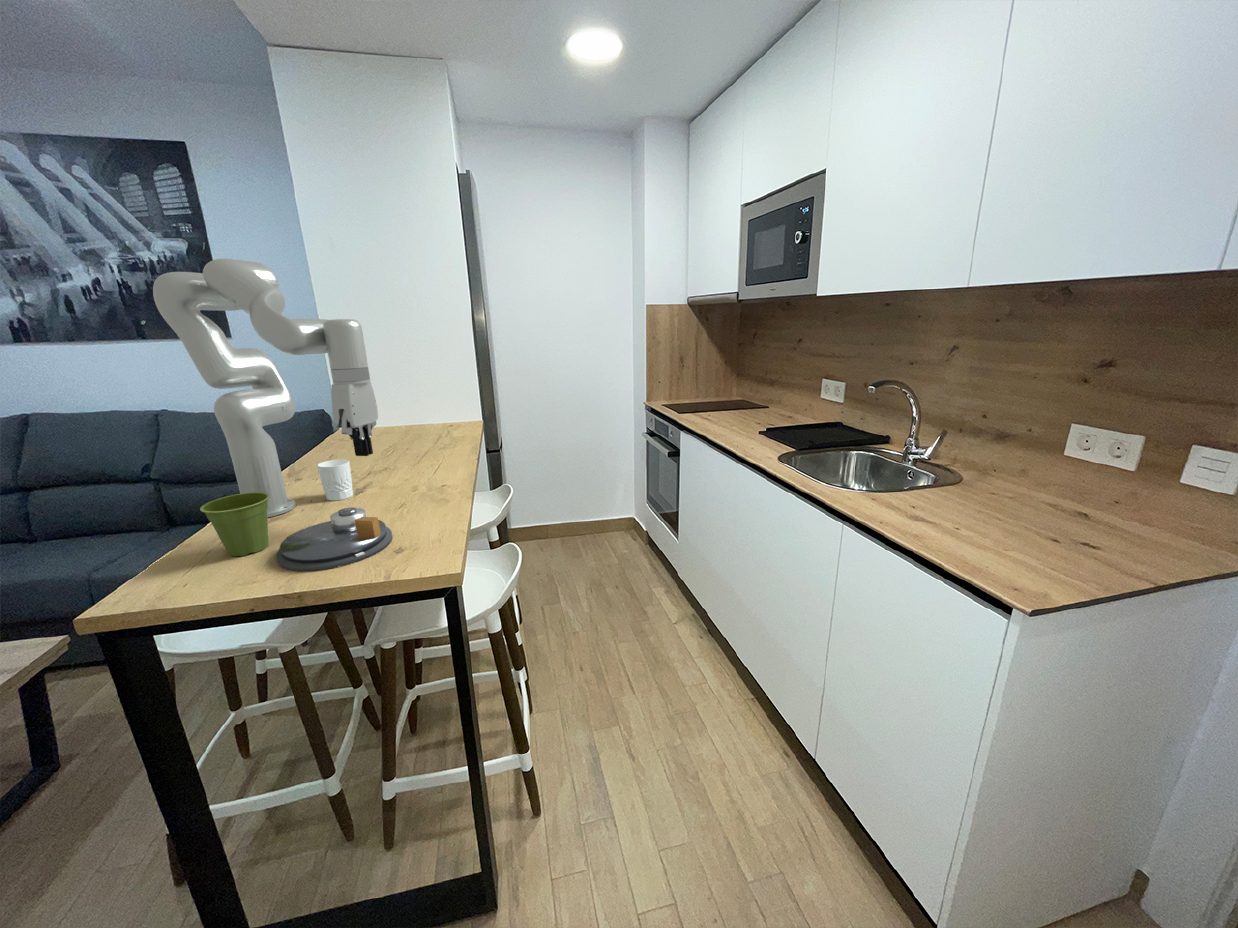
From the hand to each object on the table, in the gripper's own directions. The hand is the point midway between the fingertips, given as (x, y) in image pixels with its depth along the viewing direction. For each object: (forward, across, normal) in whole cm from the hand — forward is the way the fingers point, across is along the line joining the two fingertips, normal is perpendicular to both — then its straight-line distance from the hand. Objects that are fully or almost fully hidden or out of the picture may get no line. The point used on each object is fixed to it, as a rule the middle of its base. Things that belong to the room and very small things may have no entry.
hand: (364, 454), depth 116 cm
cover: (+14, +9, 0) cm, 17 cm away
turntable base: (+17, +14, 0) cm, 22 cm away
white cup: (+17, -17, -22) cm, 33 cm away
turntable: (+16, +14, 0) cm, 21 cm away
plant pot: (+17, +17, -19) cm, 31 cm away
